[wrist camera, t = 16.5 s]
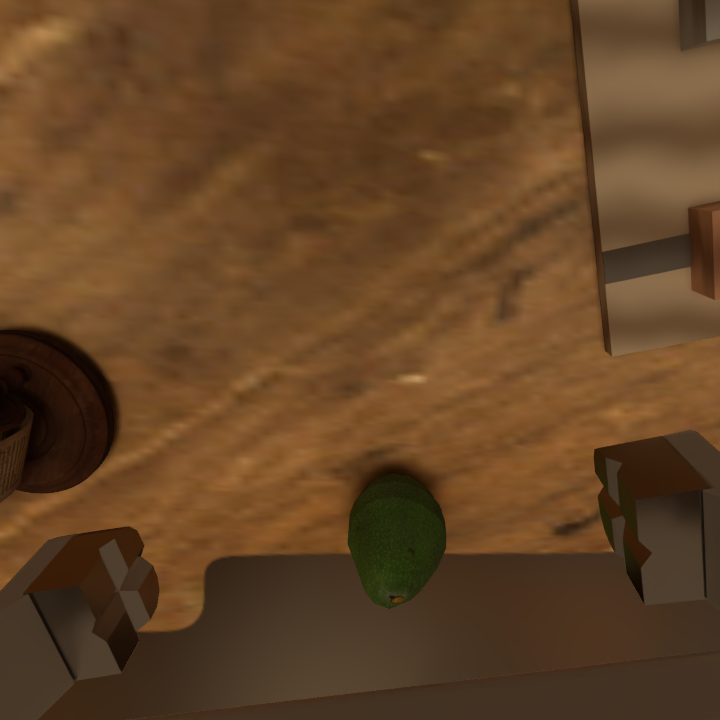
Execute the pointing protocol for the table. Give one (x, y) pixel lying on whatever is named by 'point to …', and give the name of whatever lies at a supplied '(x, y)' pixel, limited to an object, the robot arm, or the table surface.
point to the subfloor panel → (652, 165)
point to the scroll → (49, 416)
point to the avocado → (396, 538)
